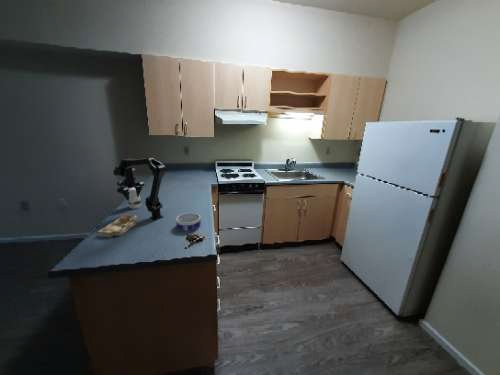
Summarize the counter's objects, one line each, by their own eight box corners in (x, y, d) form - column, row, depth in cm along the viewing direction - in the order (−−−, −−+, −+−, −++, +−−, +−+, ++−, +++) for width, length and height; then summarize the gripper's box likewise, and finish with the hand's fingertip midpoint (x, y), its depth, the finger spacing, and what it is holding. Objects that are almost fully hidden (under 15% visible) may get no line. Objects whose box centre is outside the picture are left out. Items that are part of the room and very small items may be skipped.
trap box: (126, 218, 148) (125, 214, 147) (142, 219, 147) (141, 215, 146) (98, 236, 125) (97, 231, 124) (117, 238, 124) (116, 233, 123)
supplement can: (130, 205, 170) (127, 187, 165) (141, 204, 173) (139, 186, 168) (128, 209, 162) (125, 190, 158) (140, 208, 165) (138, 189, 161)
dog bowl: (176, 232, 131) (175, 224, 130) (177, 221, 145) (176, 213, 144) (201, 230, 136) (201, 221, 134) (200, 219, 150) (199, 211, 148)
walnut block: (126, 219, 146) (125, 214, 144) (132, 219, 145) (131, 214, 144) (120, 223, 140) (119, 217, 139) (126, 223, 140) (125, 218, 138)
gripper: (130, 173, 157) (133, 193, 162) (108, 179, 140) (112, 201, 145) (143, 174, 154) (146, 194, 159) (122, 181, 137) (126, 203, 142)
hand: (133, 198), depth 151 cm, fingers open, 9 cm apart
